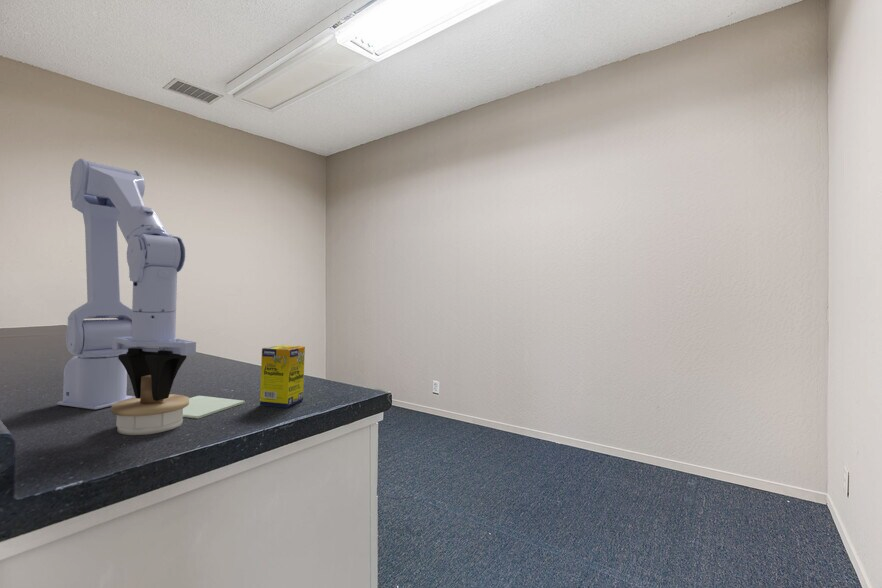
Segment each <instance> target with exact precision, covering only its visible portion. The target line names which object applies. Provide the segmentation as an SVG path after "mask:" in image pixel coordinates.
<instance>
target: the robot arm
mask: <svg viewBox="0 0 882 588" xmlns="http://www.w3.org/2000/svg"><path fill="white" fill-rule="evenodd" d="M145 183H146V182H145V179H144V176H143V175H142V173H141V172H140V171H138V170H131V169H125V168H120V167H116V166H113V165H107V164H104V163H98V162H96V161H95V162H94V161H89V160H86V159H84V158H79V159H77V160H75V161H74V163H73V164H72V167H71V171H70V186H69V187H70V201H71V204H72V205H71V206H72V208H74V210H76V211H78V212H80V213H81V214H82V218H83V222H84V223H83V224H84V233H85V234H84V235H85V236H84V238H85V261H86V262H85V264H86V265H85V266H86V269H85V271H86V272H85V273H86V293H87V294H86V296H87V297H86V298H87V301H86V303H83V304H82V305H80V306H78V307H77V308H75V309H74V310H72V311H71V312H69V313H70V314H69V315H68V317H67V327H66V330H65V345H66V349H67V351H68V352H69V353H70V354H71V355H72V356H73V357H71V358H70V359H69V360H68V361H67V363H65V366H64V367H63V368H64V369H63V387H62V388H63V389H62V390H63V391H62V400H60V401H58V402H57V403H56V404H57V405H59V406H65V407H75V408H81V409H88V410H99V409H103V408H108V407H112V405H113V404H114V403H116V402H119V401H122V400H125V399H130V398H134V397H136V398H138V399H139V398H140V395H141V377H142V376H146V375H151V380H152V396H153V400H155V401H158V400H162V399H166V398H168V397H169V394H170V393H171V391H172V388H173V387H172V386H173V384H174V381H175V378H176V376H177V375H178V371H179V370H180V368H181V367H182V365H183V364H184V362H185V360H186V359H187V357H188V356H190V355H196V354H197V341H193V340H187V339H186V340H185V339H181V338H176V327H177V326H176V324H177V297H178V296H177V295H178V293H177V291H178V285H177V284H178V273H179V272H181V270H182V269H183V267H184V265H185V261H186V247H185V244H184V241H183V238H182V237H181V236H175V235H173V234H169V233H168V231H167V230H166V228H165V226H164V224H163V223H162V220H161V219H160V217H159V216H158V214H157V213H156V212H155V210H153V208H152V207H147V206H145V202H144V200H143V197H144V194H145V188H146V185H145ZM118 228H119V230H120V232H121V233H122V235H123V237H124V240H125V242H126V243H127V249H126V262H127V266H128V272H129V273H128V274H129V276H128V278H129V281H130V282H132V302H131V303H132V305H131V307H130V306H127V305H126V304H125V303H124V302H121V293H120V292H121V289H120V268H119V267H120V266H119V264H120V263H119V246H118V245H119V244H118V242H119V241H118V240H119V239H118ZM128 376H129V379H130V380H129V381H130V383H131V387H132V390H133V394H134V395H127V388H128V387H127V385H128V378H127V377H128Z"/></svg>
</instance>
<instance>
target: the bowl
mask: <svg viewBox="0 0 882 588" xmlns="http://www.w3.org/2000/svg"><path fill="white" fill-rule="evenodd" d="M115 416H116V419H115V420H116V422H115V423H116V424H115V426H116V427H117V433H119V434H120V435H121V434H122V435H127V436H141V435H142V436H143V435H152V434H153V435H154V434H158V433H162V432H163V433H164V432H167V431H171V430H174V429H177V428H179V427H180V426H182V424H183V421H184V419H183V418H184V417H183V408H182V409H179V410H176V411H172V412H168V413H163V414H156V415H147V416H119V415H115Z"/></svg>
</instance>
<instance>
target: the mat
mask: <svg viewBox="0 0 882 588" xmlns="http://www.w3.org/2000/svg"><path fill="white" fill-rule="evenodd" d="M188 398H189V405H188V406H186V407H184V408H183V418H190V419H197V420H198V419H201V418H204V417H208V416H210V415H214V414H216V413H219V412H222V411H225V410H228V409H231V408H234V407H236V406H239V405H242V404H246V401H245V400H241V399H234V398H233V399H232V398H225V397H224V398H223V397H214V396H207V395H196V396H193V397H188Z"/></svg>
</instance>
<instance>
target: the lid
mask: <svg viewBox="0 0 882 588" xmlns="http://www.w3.org/2000/svg"><path fill="white" fill-rule="evenodd" d="M189 398H190V397H189V396H187V395H185V394H184V395H183V394H175V393H174V394H172V393H171V394H169V397H168V398H166V399H162V400H158V401H155V400H153V396H152V380H151V375H146V376H142V377H141V395H140V398H139V399H138V398H136V397H134V398H130V399H125V400H122V401H119V402H116V403H114V404H113V405H112V406H111V409H110V410H111V413H112V414H113V415H115V416H117V415H119V416H147V415H156V414H163V413H168V412H172V411H176V410H179V409H182V408H184V407H186V406H188V405H189Z"/></svg>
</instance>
